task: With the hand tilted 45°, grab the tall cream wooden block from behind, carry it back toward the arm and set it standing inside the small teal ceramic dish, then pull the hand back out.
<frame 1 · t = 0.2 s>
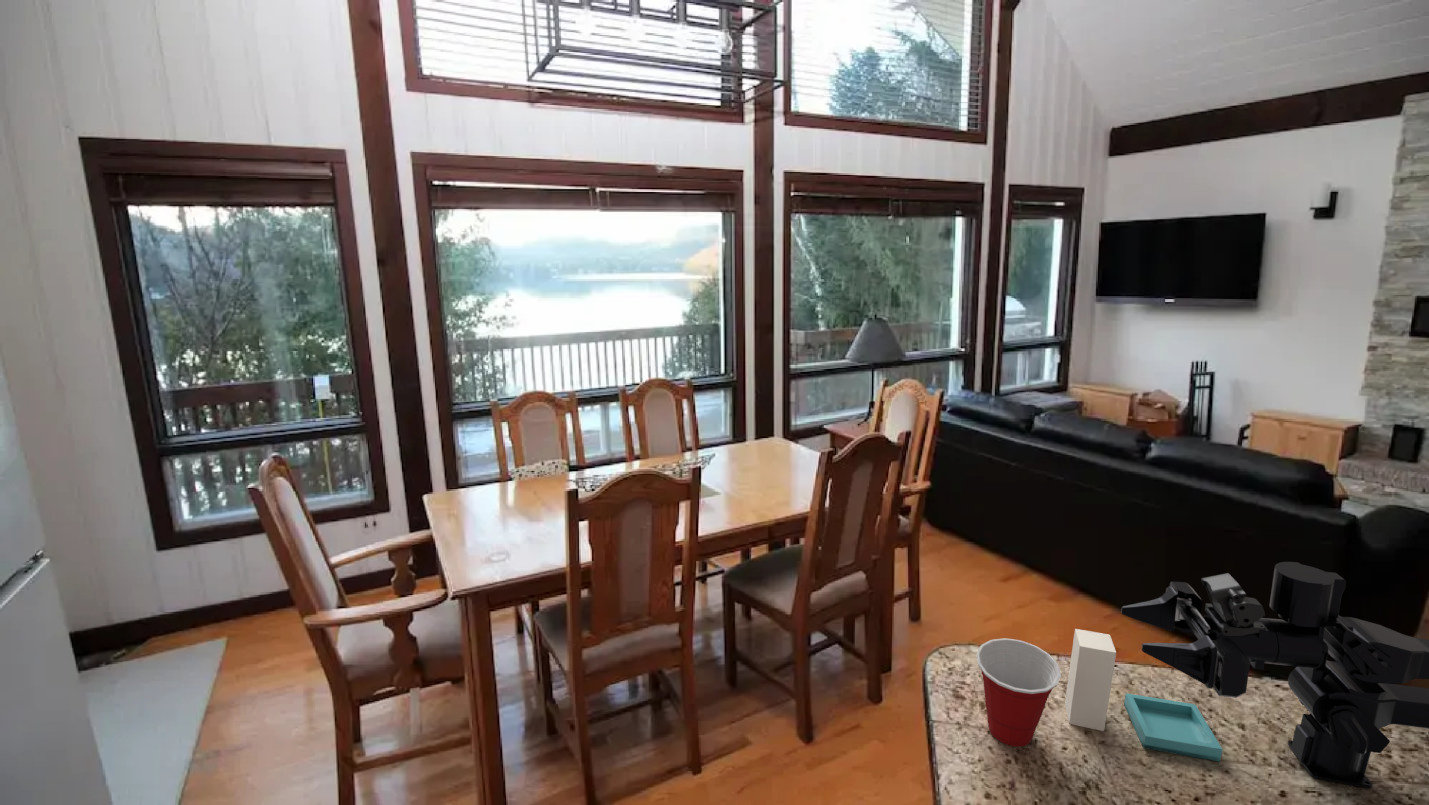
hand: (1131, 628, 90), 17 cm above the countertop, tool horizontal, fingers open, 9 cm apart
plastic cup: (1009, 734, 94), on the countertop
cream block: (1083, 717, 97), on the countertop
teal dish: (1169, 731, 94), on the countertop
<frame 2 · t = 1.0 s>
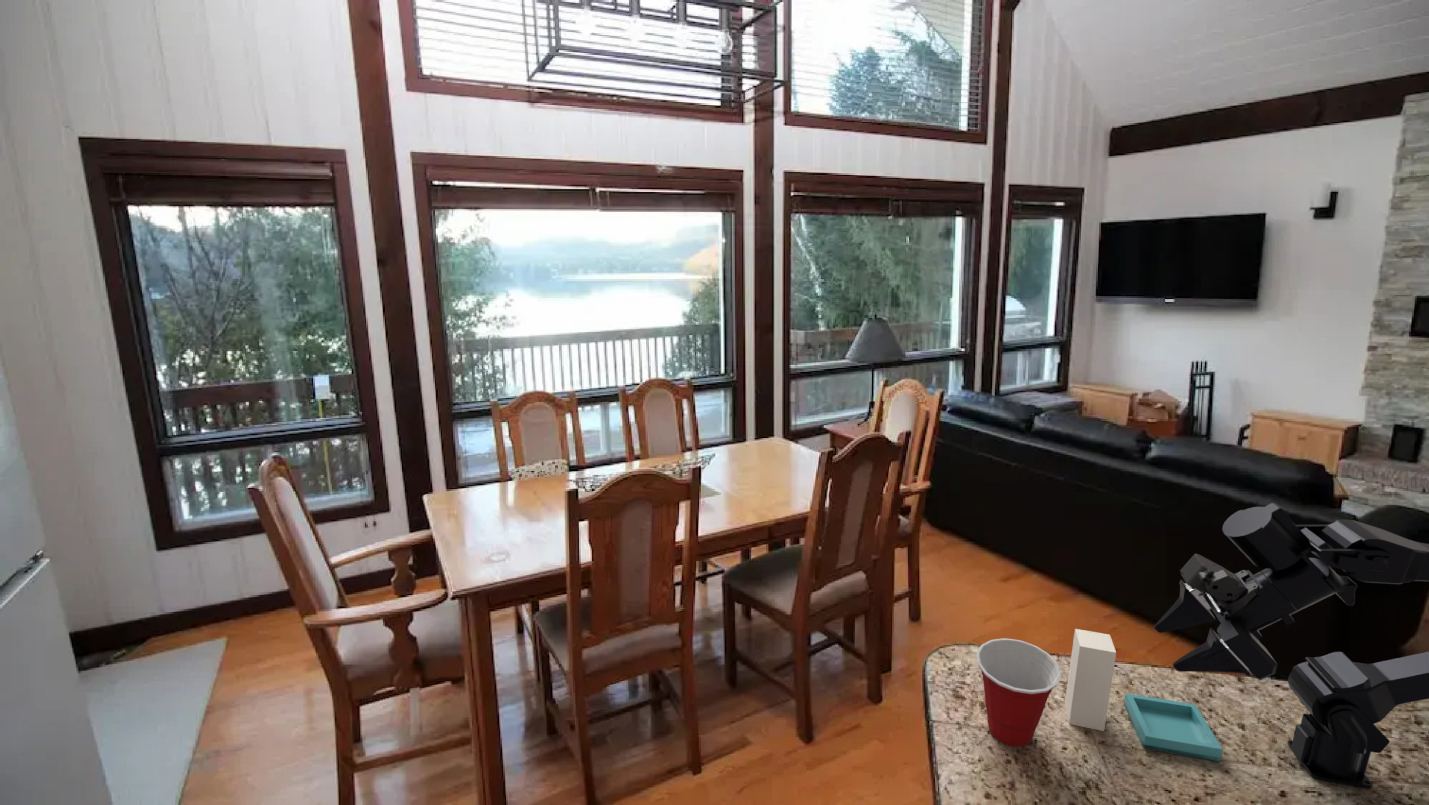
hand: (1165, 648, 91), 14 cm above the countertop, tool tilted 45°, fingers open, 9 cm apart
nothing on the countertop moved.
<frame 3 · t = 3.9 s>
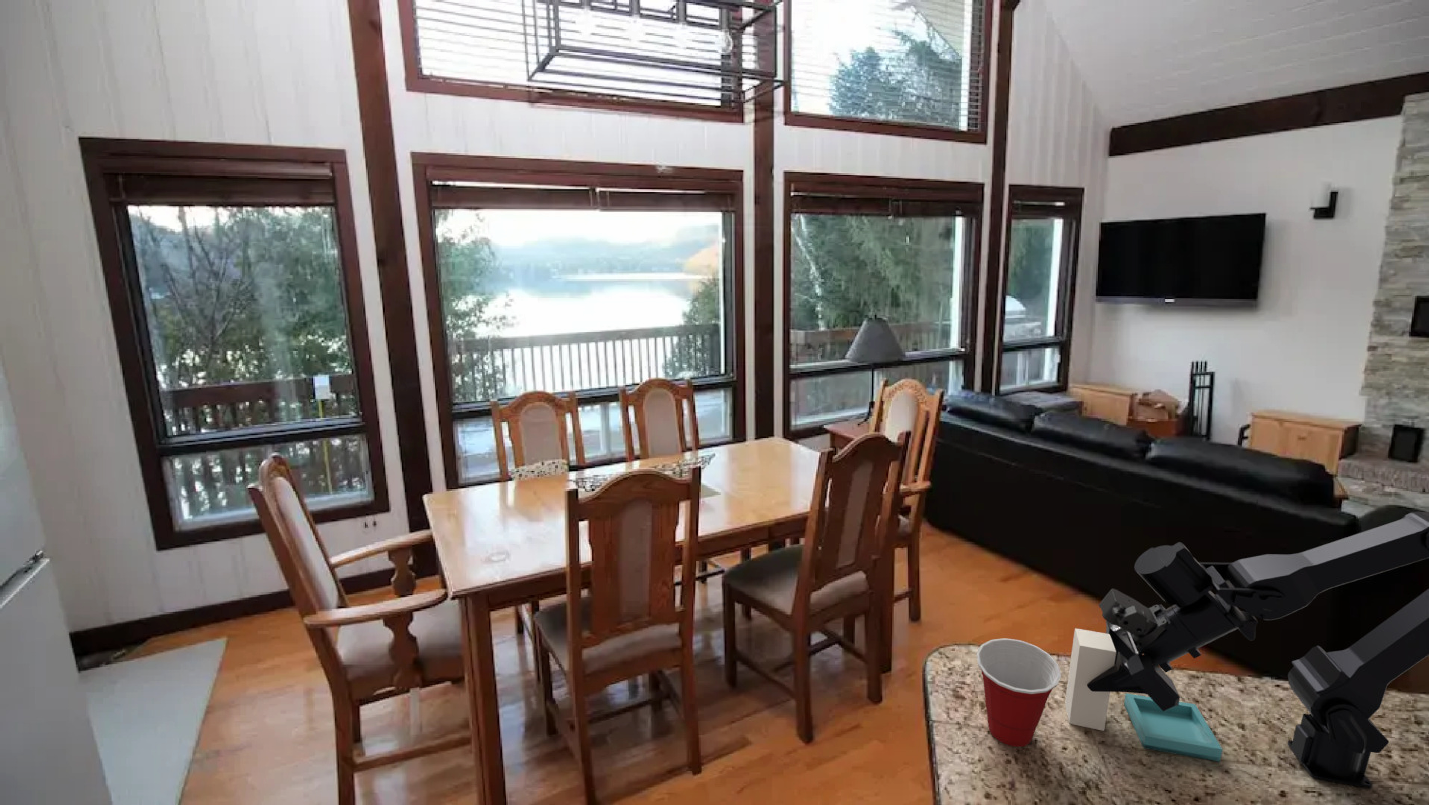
hand: (1086, 677, 95), 7 cm above the countertop, tool tilted 45°, fingers closed on cream block, 4 cm apart
cream block: (1083, 716, 97), on the countertop, touching gripper
everything else where it was.
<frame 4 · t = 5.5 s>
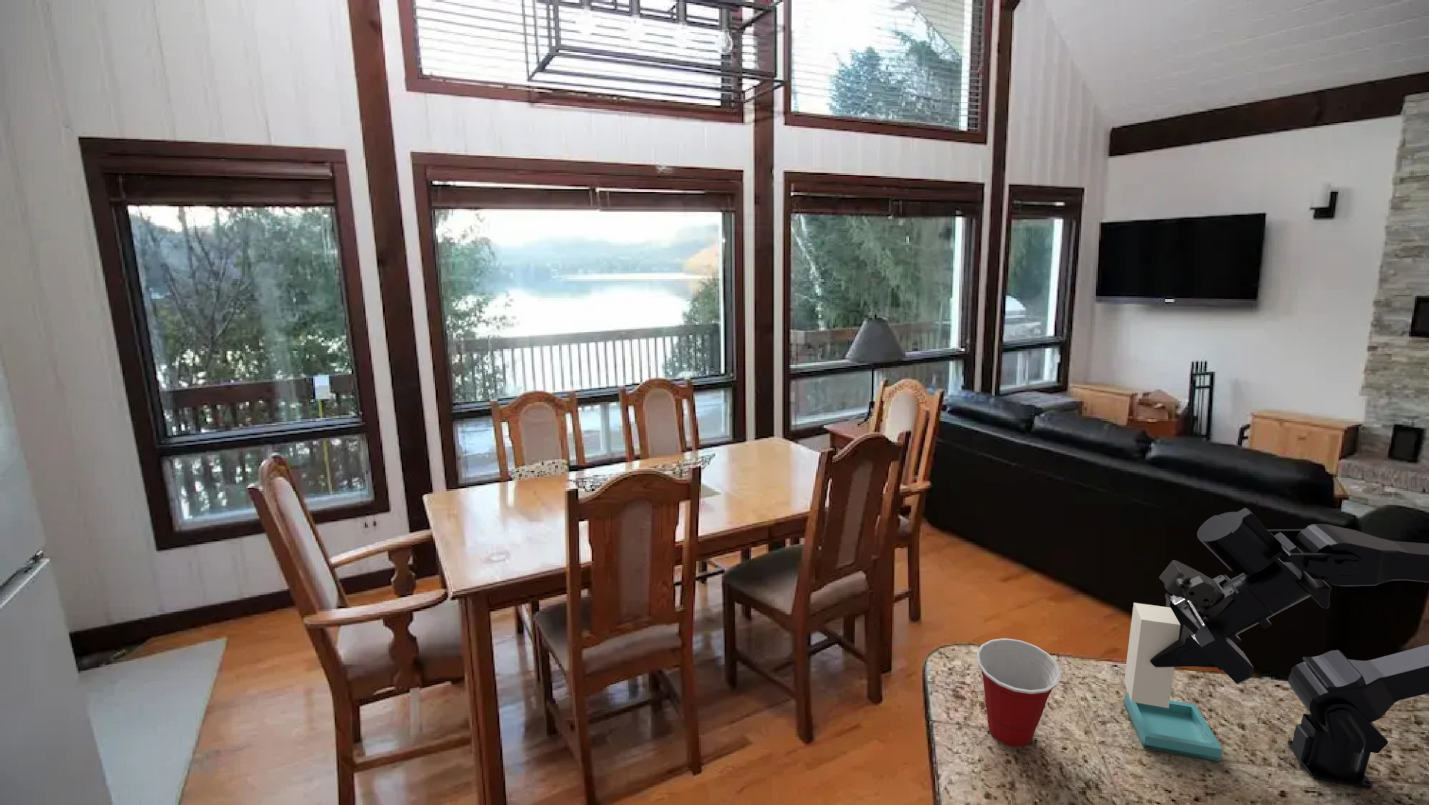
hand: (1147, 653, 92), 12 cm above the countertop, tool tilted 45°, fingers closed on cream block, 4 cm apart
cream block: (1145, 694, 93), point 5 cm above the countertop, touching gripper
everything else where it was.
when the fingers open (8 cm above the countertop, at t = 7.2 s): cream block stays where it is, resting on teal dish.
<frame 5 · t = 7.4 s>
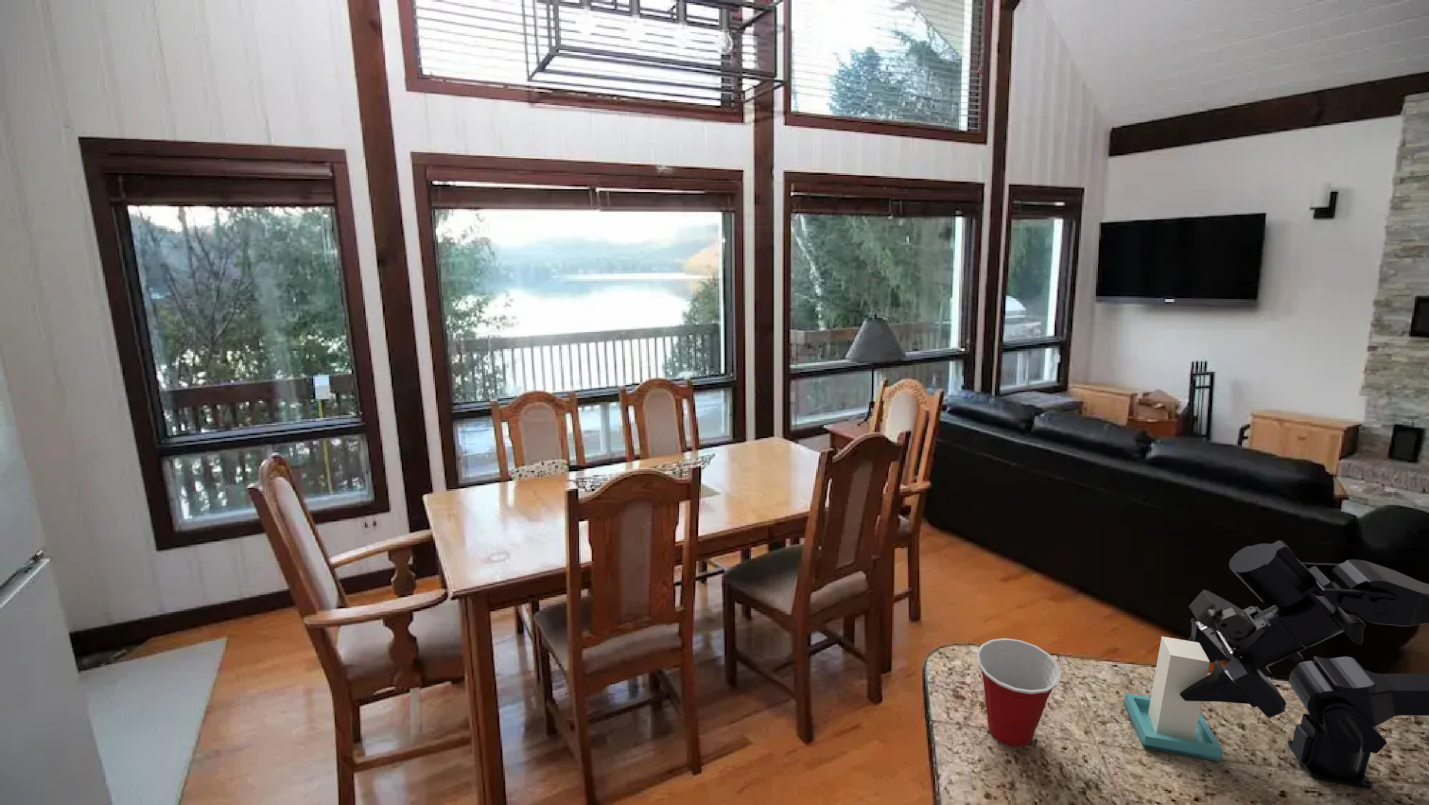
hand: (1174, 682, 92), 8 cm above the countertop, tool tilted 45°, fingers open, 6 cm apart
cream block: (1170, 727, 94), point 1 cm above the countertop, touching teal dish
everything else where it was.
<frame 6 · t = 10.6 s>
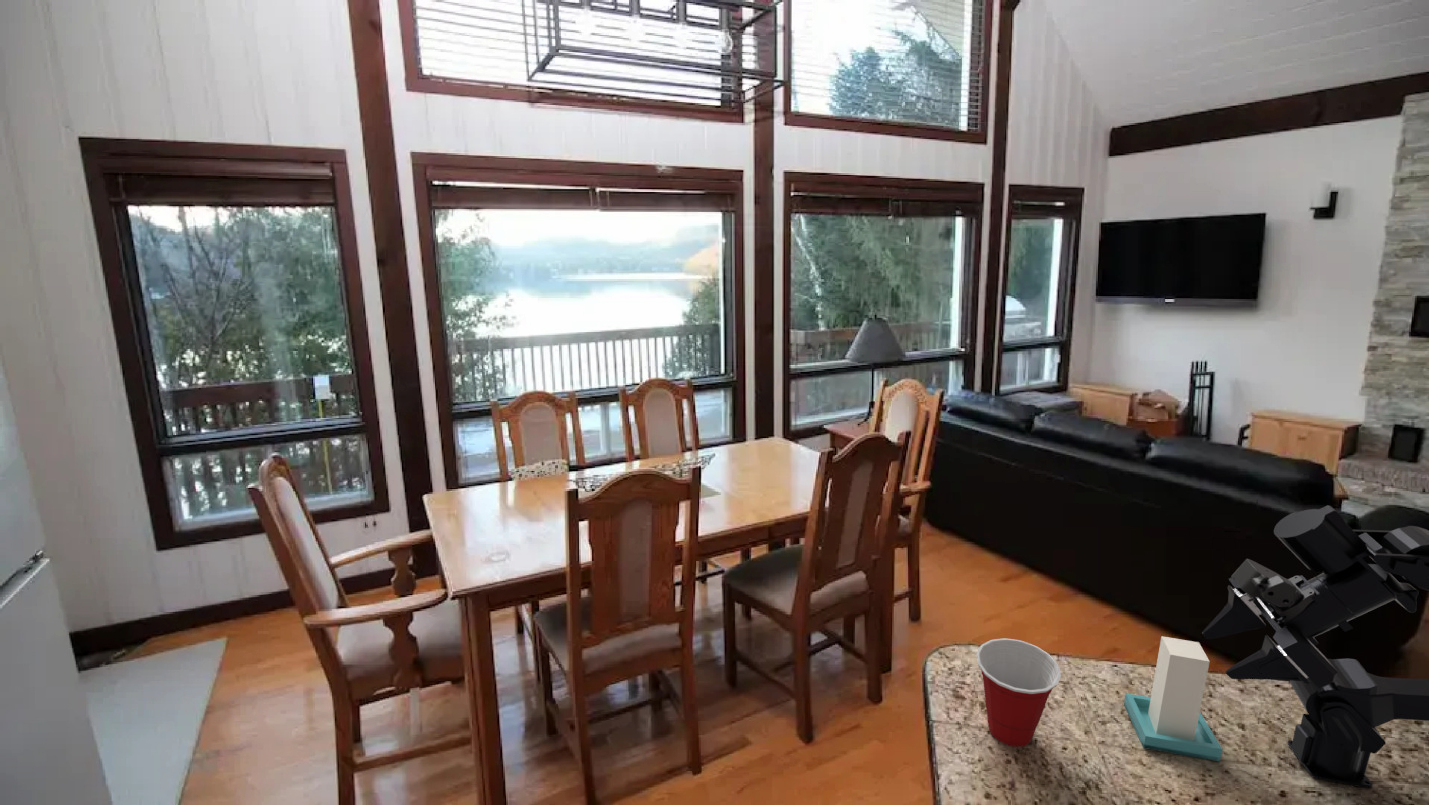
hand: (1215, 654, 89), 14 cm above the countertop, tool tilted 45°, fingers open, 9 cm apart
nothing on the countertop moved.
at the end: cream block 0.1 cm off-centre on the teal dish, point 0.6 cm above the teal dish's base; cream block tilted 0°; the gripper is holding nothing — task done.
